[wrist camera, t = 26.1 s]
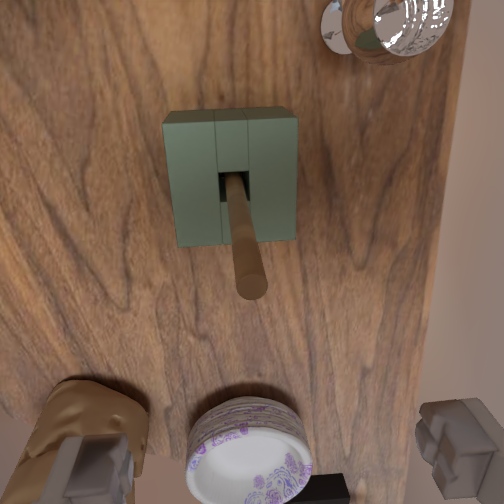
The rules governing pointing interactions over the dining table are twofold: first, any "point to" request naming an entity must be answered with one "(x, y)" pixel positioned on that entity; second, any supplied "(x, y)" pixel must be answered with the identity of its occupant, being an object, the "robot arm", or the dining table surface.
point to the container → (76, 434)
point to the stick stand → (231, 160)
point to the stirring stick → (244, 241)
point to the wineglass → (384, 28)
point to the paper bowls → (248, 453)
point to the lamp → (323, 491)
